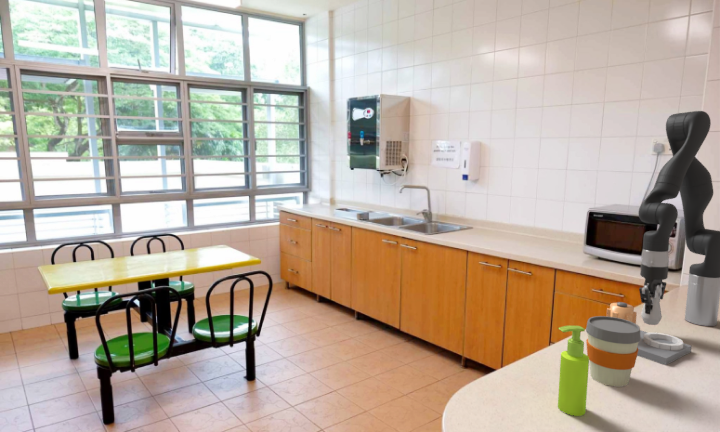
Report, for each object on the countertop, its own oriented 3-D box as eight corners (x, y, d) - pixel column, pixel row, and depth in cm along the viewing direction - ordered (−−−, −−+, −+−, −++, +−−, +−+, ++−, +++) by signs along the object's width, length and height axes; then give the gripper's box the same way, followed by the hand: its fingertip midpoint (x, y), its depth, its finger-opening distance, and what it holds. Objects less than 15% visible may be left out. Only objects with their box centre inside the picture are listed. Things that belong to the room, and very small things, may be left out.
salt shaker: (655, 319, 154) (657, 282, 152) (664, 326, 148) (667, 287, 147) (637, 319, 154) (639, 282, 153) (646, 326, 149) (648, 287, 147)
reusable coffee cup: (608, 393, 113) (612, 335, 111) (572, 370, 125) (575, 318, 123) (648, 386, 117) (653, 330, 115) (609, 365, 129) (613, 314, 127)
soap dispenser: (548, 403, 109) (553, 322, 106) (576, 401, 109) (581, 321, 107) (561, 416, 103) (566, 332, 100) (590, 415, 104) (596, 331, 101)
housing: (619, 329, 155) (622, 293, 153) (690, 352, 137) (694, 311, 135) (593, 340, 146) (596, 301, 144) (665, 365, 128) (669, 321, 127)
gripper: (652, 258, 155) (649, 306, 158) (631, 264, 148) (628, 315, 150) (677, 262, 149) (673, 312, 152) (656, 268, 142) (653, 322, 144)
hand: (651, 313), depth 151 cm, fingers closed on salt shaker, 3 cm apart
